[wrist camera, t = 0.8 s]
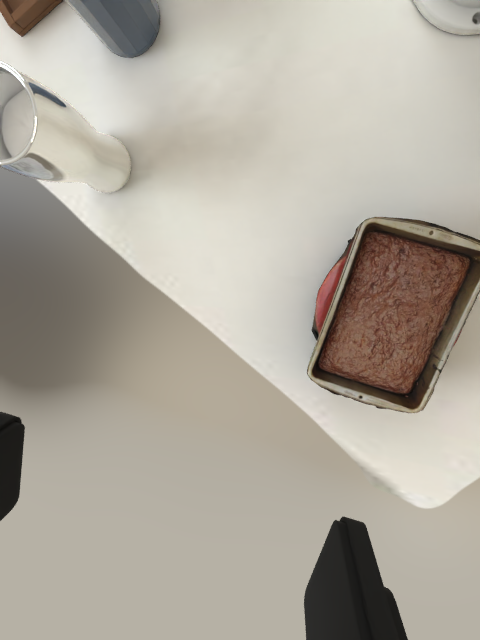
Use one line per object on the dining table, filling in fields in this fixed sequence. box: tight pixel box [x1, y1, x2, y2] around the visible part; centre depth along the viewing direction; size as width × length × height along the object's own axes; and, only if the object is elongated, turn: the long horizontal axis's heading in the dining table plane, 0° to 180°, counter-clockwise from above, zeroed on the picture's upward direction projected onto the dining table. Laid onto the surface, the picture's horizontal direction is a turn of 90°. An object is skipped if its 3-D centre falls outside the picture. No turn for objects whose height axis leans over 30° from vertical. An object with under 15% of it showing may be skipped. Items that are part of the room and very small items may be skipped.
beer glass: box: [0, 61, 131, 193], centre depth 29 cm, size 7×7×15 cm
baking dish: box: [307, 217, 480, 413], centre depth 33 cm, size 14×18×10 cm
